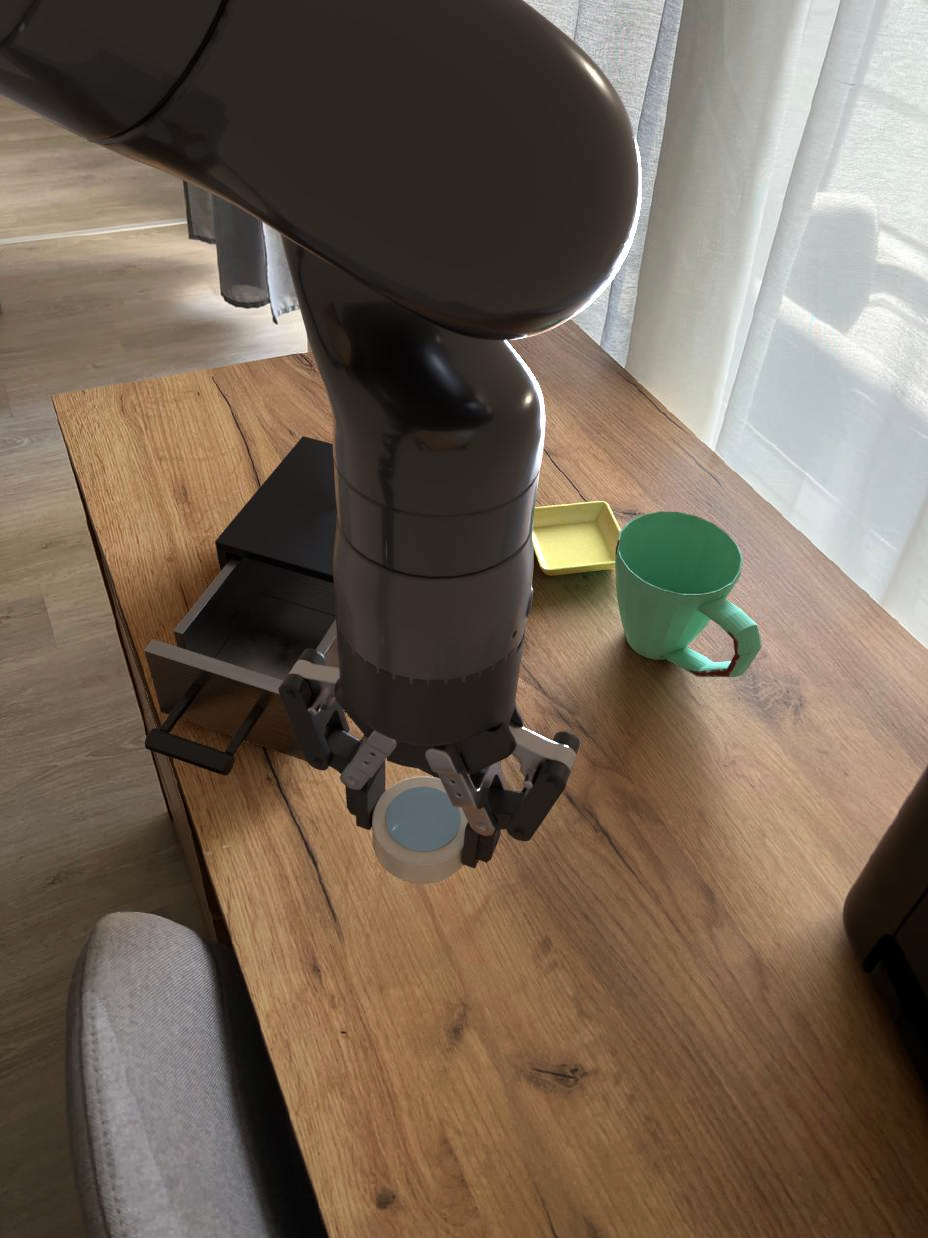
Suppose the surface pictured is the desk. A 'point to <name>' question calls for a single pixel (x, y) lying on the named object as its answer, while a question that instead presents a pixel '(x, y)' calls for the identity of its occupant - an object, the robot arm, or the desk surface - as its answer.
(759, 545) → the desk surface
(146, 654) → the drawer
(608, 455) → the desk surface
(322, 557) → the black box
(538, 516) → the yellow square dish
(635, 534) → the mug
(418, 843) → the button
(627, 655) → the desk surface
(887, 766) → the desk surface
